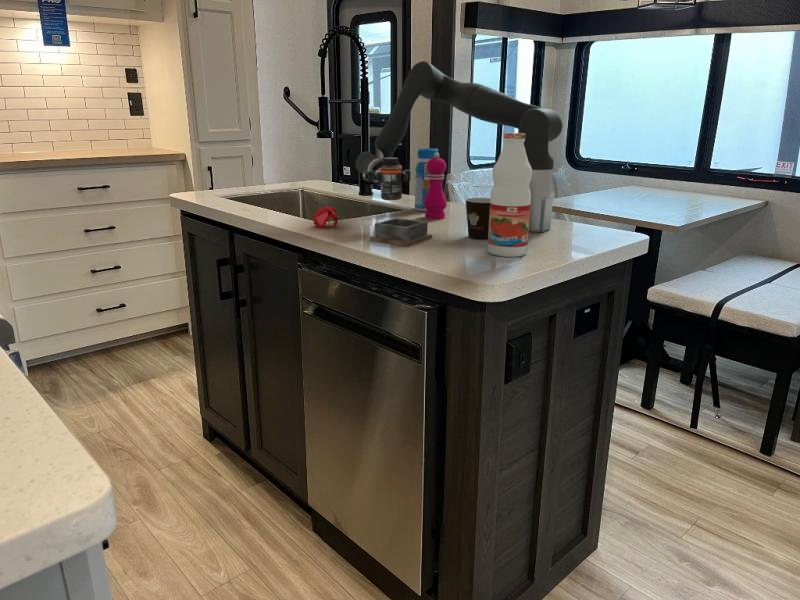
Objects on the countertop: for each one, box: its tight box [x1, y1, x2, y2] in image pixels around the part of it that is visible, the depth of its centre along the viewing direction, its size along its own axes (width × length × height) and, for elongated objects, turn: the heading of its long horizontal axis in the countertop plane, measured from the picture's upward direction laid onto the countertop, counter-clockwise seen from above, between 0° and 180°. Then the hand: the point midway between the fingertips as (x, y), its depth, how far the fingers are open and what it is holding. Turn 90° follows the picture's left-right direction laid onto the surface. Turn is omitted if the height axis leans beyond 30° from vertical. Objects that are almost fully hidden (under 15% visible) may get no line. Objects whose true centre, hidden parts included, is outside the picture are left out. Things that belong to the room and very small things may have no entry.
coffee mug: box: [465, 197, 491, 241], centre depth 163 cm, size 12×9×10 cm
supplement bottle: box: [380, 156, 403, 201], centre depth 170 cm, size 6×6×11 cm
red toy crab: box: [313, 206, 339, 229], centre depth 176 cm, size 8×6×6 cm
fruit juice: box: [487, 132, 532, 258], centre depth 144 cm, size 9×9×28 cm
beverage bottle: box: [414, 147, 439, 212], centre depth 205 cm, size 8×8×20 cm
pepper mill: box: [424, 152, 448, 220], centre depth 191 cm, size 7×7×20 cm
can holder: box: [369, 217, 433, 248], centre depth 161 cm, size 12×12×4 cm
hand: (393, 178), depth 168 cm, fingers closed on supplement bottle, 6 cm apart
